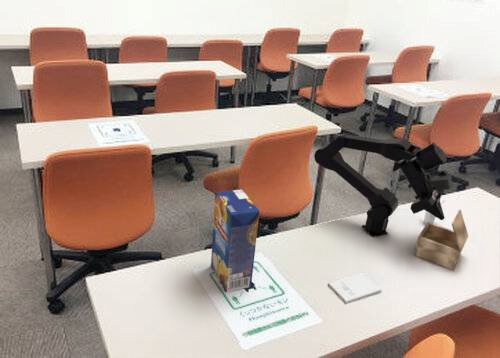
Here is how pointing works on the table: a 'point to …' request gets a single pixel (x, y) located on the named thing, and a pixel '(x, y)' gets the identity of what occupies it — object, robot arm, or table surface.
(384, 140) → the robot arm
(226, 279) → the juice carton
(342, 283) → the external hard drive
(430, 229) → the carton
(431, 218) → the milkshake
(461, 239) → the flap
